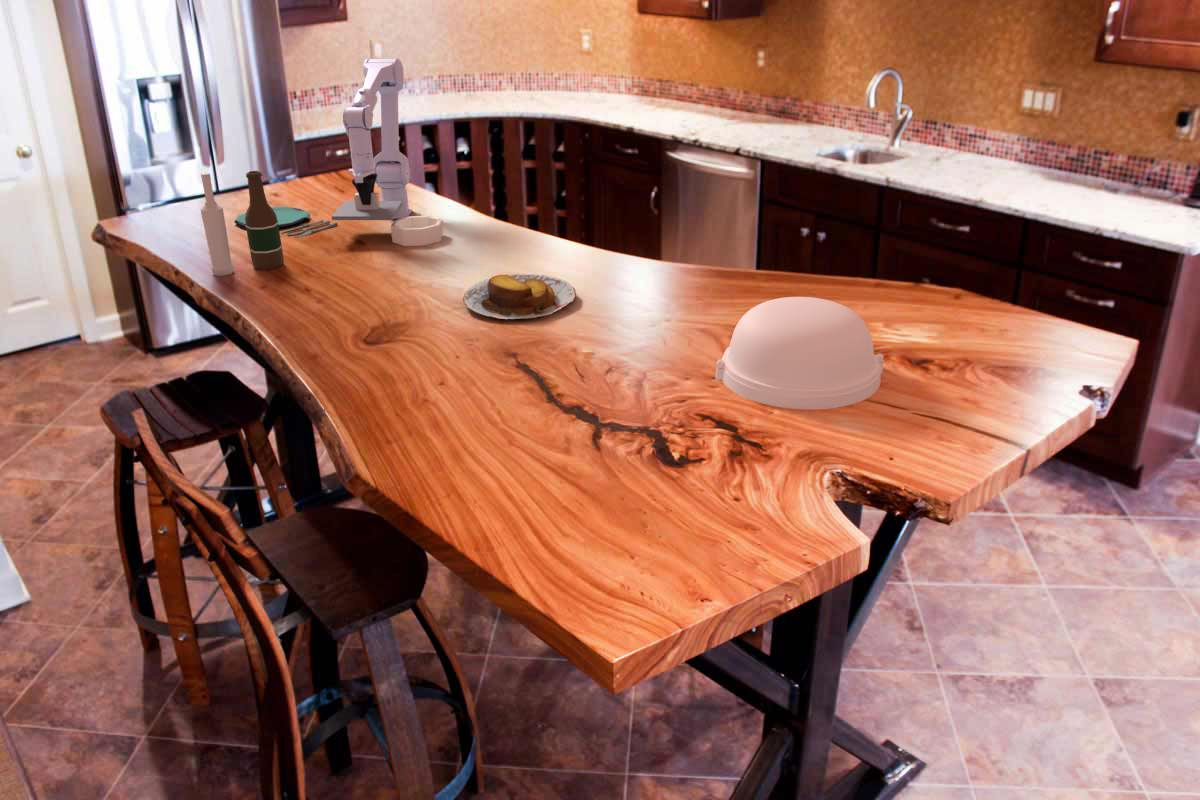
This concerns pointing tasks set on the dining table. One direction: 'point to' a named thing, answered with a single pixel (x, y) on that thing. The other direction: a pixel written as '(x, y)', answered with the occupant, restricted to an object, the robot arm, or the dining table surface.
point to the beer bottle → (262, 227)
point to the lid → (367, 209)
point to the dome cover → (801, 355)
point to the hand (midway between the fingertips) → (367, 203)
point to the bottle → (215, 231)
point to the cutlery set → (291, 220)
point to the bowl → (417, 230)
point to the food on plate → (519, 296)
